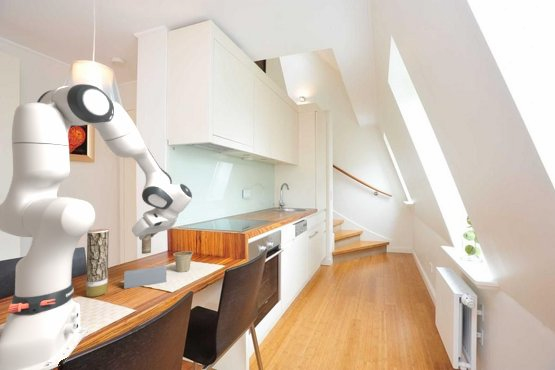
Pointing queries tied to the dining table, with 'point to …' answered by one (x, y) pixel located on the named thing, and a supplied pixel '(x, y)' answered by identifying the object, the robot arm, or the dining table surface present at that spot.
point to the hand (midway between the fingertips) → (145, 237)
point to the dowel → (146, 244)
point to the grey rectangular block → (144, 277)
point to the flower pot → (183, 260)
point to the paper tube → (97, 262)
